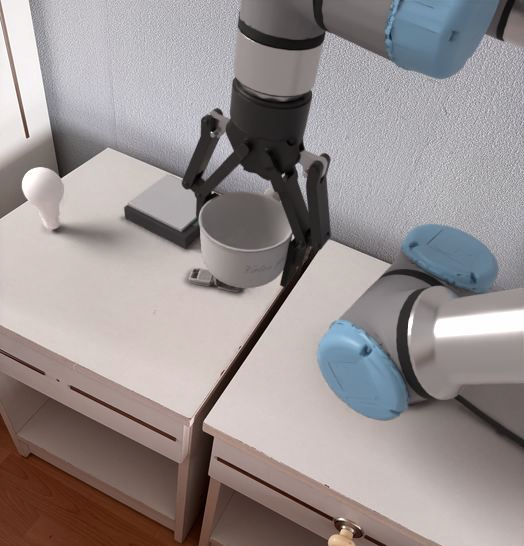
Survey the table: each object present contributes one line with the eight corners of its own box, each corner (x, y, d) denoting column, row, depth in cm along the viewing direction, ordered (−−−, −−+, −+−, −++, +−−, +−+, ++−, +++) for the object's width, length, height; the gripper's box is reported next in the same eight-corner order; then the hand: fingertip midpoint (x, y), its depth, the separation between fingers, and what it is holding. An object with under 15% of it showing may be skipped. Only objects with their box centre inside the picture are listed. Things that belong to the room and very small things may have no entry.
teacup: (249, 315, 59) (258, 264, 53) (178, 270, 62) (178, 216, 56) (313, 256, 67) (327, 205, 61) (247, 218, 70) (254, 166, 64)
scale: (226, 212, 96) (227, 198, 93) (185, 249, 88) (185, 235, 86) (169, 185, 98) (169, 171, 96) (125, 218, 91) (123, 204, 89)
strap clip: (187, 283, 83) (187, 263, 80) (192, 270, 85) (192, 251, 82) (239, 293, 83) (241, 274, 80) (242, 280, 85) (245, 261, 82)
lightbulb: (54, 211, 90) (41, 154, 81) (79, 227, 88) (68, 171, 79) (25, 228, 86) (8, 170, 78) (51, 245, 84) (36, 187, 76)
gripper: (403, 112, 47) (342, 283, 64) (190, 28, 52) (186, 208, 69) (375, 146, 42) (317, 320, 60) (144, 52, 47) (152, 238, 64)
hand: (247, 260), depth 64 cm, fingers closed on teacup, 11 cm apart
